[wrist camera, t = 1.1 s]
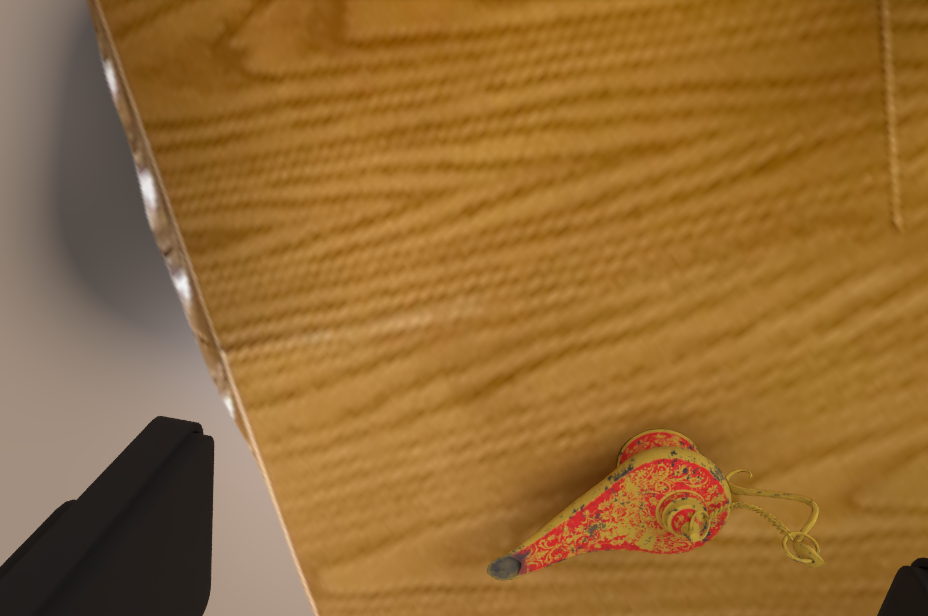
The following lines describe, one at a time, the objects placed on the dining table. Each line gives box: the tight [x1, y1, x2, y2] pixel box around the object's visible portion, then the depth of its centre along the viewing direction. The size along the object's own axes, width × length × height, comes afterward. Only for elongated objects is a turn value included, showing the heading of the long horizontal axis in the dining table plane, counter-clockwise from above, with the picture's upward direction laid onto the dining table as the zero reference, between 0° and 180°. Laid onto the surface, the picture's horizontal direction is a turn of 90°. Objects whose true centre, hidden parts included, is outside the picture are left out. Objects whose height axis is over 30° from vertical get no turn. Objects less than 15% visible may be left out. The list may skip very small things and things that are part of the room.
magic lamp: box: [487, 429, 825, 580], centre depth 43 cm, size 7×18×11 cm, turn 110°
